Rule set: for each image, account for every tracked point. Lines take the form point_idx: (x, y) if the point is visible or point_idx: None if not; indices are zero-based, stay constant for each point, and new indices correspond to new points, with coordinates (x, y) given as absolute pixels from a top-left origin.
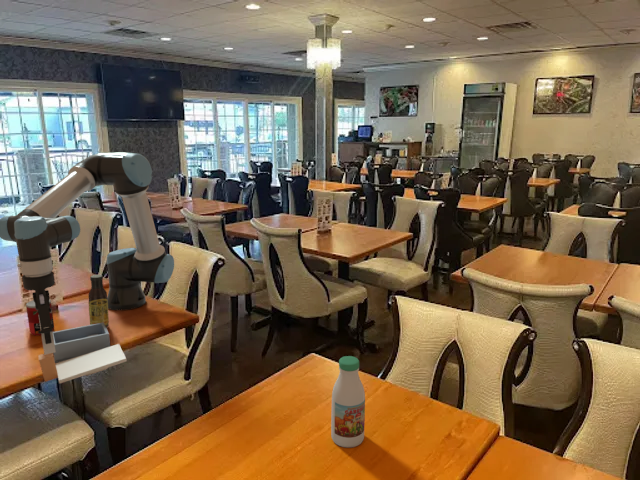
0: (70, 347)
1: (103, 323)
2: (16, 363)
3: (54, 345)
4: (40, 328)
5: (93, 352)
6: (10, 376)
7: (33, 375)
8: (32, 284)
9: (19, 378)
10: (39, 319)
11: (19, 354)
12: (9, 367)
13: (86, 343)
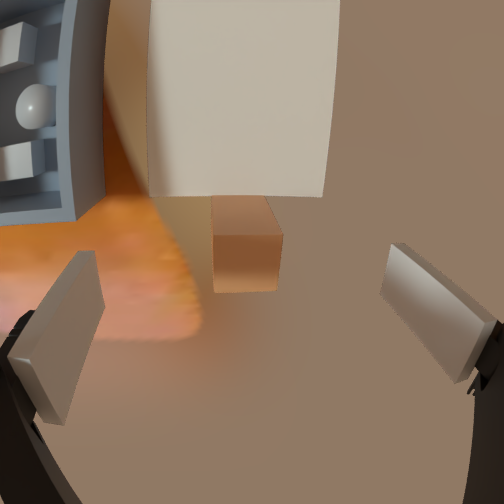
0: (82, 134)
1: None
2: None
3: (428, 262)
4: (90, 342)
5: (158, 37)
6: (150, 328)
7: (178, 268)
8: None
9: (179, 306)
10: (72, 396)
11: (3, 301)
12: None
13: (82, 60)
